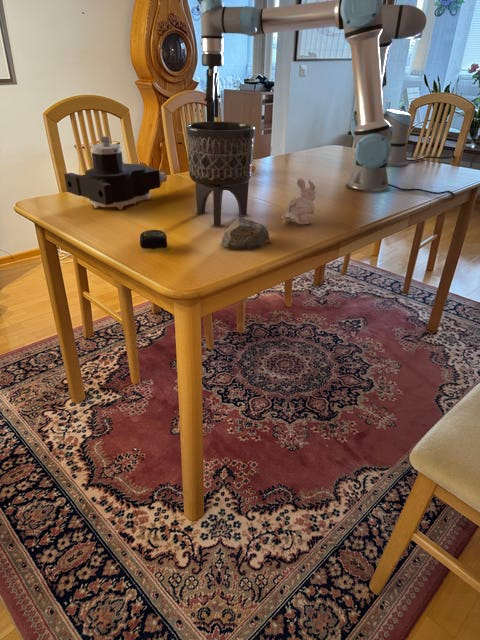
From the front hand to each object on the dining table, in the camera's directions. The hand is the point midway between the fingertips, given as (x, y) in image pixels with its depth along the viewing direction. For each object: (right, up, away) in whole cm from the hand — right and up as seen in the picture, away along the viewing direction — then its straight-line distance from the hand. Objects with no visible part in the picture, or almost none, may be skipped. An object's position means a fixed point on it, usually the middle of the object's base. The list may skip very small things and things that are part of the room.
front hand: (212, 119), depth 169 cm
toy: (+12, -11, +27) cm, 31 cm away
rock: (+12, -55, -47) cm, 73 cm away
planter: (+4, -43, -28) cm, 52 cm away
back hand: (+81, +42, +71) cm, 116 cm away
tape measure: (-12, -56, -51) cm, 77 cm away
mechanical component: (-29, -34, -14) cm, 47 cm away
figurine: (+28, -45, -31) cm, 61 cm away
